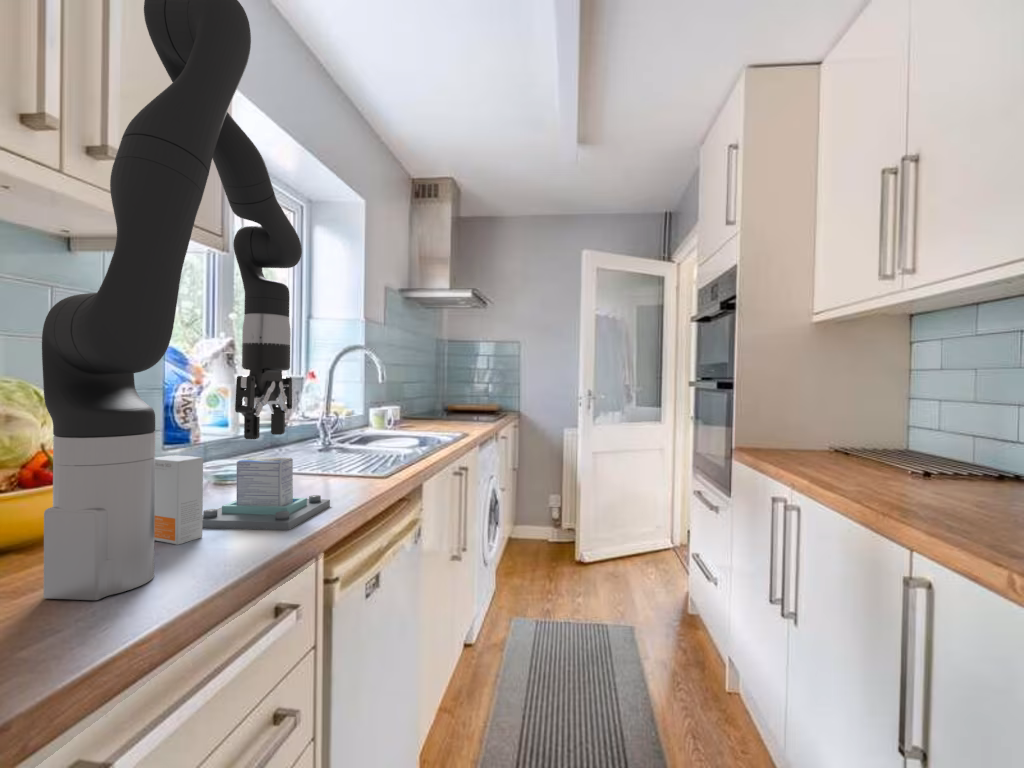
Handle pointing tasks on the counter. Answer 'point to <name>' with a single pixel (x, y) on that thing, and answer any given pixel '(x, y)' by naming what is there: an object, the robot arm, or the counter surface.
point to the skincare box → (178, 498)
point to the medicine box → (265, 481)
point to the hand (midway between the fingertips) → (265, 436)
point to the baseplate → (264, 514)
